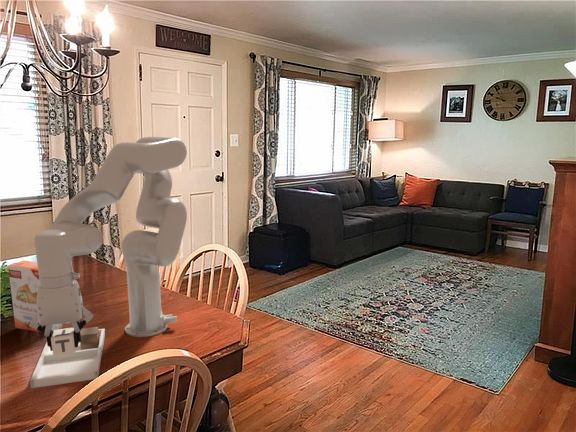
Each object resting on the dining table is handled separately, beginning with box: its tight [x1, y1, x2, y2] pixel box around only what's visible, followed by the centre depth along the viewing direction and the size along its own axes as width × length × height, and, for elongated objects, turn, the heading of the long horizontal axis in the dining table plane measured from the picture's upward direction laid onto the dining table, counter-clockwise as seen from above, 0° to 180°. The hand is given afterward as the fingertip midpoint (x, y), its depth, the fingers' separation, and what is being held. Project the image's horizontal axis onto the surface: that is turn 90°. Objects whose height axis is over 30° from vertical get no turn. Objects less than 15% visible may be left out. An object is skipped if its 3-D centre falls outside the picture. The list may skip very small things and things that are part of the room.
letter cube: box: [51, 327, 77, 357], centre depth 118 cm, size 5×5×5 cm
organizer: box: [29, 328, 106, 389], centre depth 125 cm, size 15×26×2 cm, turn 18°
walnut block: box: [80, 326, 100, 350], centre depth 132 cm, size 4×4×4 cm
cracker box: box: [7, 260, 64, 334], centre depth 142 cm, size 14×6×21 cm, turn 69°
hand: (65, 345), depth 118 cm, fingers closed on letter cube, 4 cm apart
